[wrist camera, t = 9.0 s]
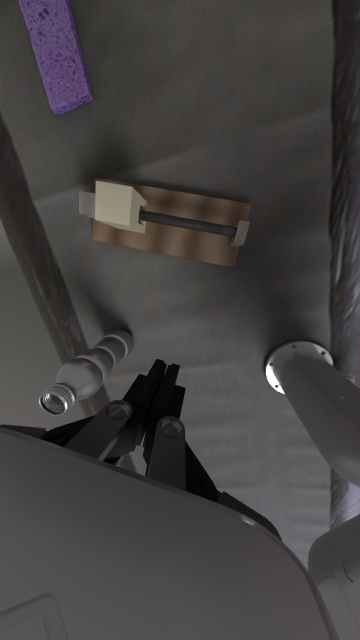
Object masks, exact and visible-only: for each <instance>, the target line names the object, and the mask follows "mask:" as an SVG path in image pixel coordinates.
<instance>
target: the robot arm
mask: <svg viewBox="0 0 360 640" xmlns="http://www.w3.org/2000/svg"><path fill="white" fill-rule="evenodd" d="M292 345H293V346H292ZM166 365H167V364H165V363H164V361H163V360H159V359H156V361H155V363H154V364H153V366H152V368H151V369H150V371H149V373H148V375H147V376H145V375H142V374H139V375H138V377H137V378H136V380H135V381H134V383H133V384H132V386H131V387H130V389H129V390H128V392H127V393H126V395H125V396H124V398H123V399H122V400H114V401H111V402H109V403H108V404H107V405H105V406H104V407H103V408H102V409H101V410H100V411H99V412H98V413H97V414H96V415H95V416H91V417H88V418H85V419H82V420H79V421H75V422H72V423H69V424H66V425H63V426H60V427H57V428H54V429H52V430H50V431H46V429H45V428H37V427H26V426H15V425H0V640H360V514H359V515H358V516H356V517H354V518H352V519H350V520H348V521H346V522H344V523H342V524H340V525H339V526H337V527H335V528H333V529H331V530H330V531H328V532H326V533H325V534H323V535H322V536H320V537H319V538H317V539H316V540H315V542H314V543H313V544H312V546H311V548H310V551H309V555H308V570H307V569H306V568H305V566H304V565H303V564H302V562H301V561H300V560H299V559H298V557H297V556H296V555H295V554H294V553H293V552H292V551H291V550H290V549H289V548H288V547H287V546H286V545H285V544H284V543H283V542H282V539H281V537H280V535H279V532H278V531H277V529H276V528H275V526H274V525H273V524H272V523H271V522H270V521H269V520H268V519H267V518H265V517H264V516H262V515H261V514H259V513H258V512H256V511H254V510H253V509H251V508H250V507H248V506H247V505H245V504H243V503H242V502H240V501H239V500H237V499H236V498H234V497H233V496H231V495H229V494H228V493H226V492H225V491H223V493H221V492H220V491H218V490H217V489H216V487H215V485H214V483H213V481H212V480H211V478H210V477H209V475H208V474H207V472H206V471H205V469H204V468H203V466H202V465H201V463H200V462H199V460H198V459H197V457H196V456H195V454H194V453H193V451H192V450H191V448H190V447H189V445H188V444H187V442H186V441H185V427H184V425H183V423H182V422H181V421H180V420H179V418H180V414H181V409H182V404H183V399H184V394H185V389H186V388H184V387H181V386H178V385H175V383H176V379H177V375H178V372H179V368H180V365H176V364H172V365H169V366H168V368H167V370H166ZM165 370H166V373H165ZM164 374H165V375H164ZM265 375H266V378H267V380H268V382H269V383H270V385H271V386H272V387H273V388H274V389H276V390H277V391H279V392H281V393H283V394H285V395H286V397H287V398H288V400H289V402H290V403H291V405H292V407H293V408H294V410H295V412H296V413H297V415H298V417H299V418H300V420H301V422H302V423H303V425H304V427H305V428H306V430H307V432H308V433H309V435H310V436H311V438H312V440H313V441H314V443H315V445H316V446H317V448H318V450H319V451H320V453H321V455H322V456H323V458H324V459H325V461H326V462H327V463H328V464H329V465H330V467H331V468H332V469H334V470H335V471H336V472H337V473H338V474H339V475H340V476H342V477H343V478H345V479H346V480H348V481H349V482H351V483H352V484H354V485H356V486H358V487H360V388H359V387H358V386H356V385H355V384H354V383H353V382H352V381H353V380H352V378H351V377H350V376H346V375H343V374H342V373H340V372H339V371H338V370H337V369H335V368H334V367H333V360H332V358H331V356H330V354H329V353H328V351H326V350H325V349H324V348H323V347H321V346H320V345H318V344H316V343H314V342H310V341H305V340H297V341H291V342H287V343H285V344H283V345H281V346H279V347H278V348H276V349H275V350H274V351H273V352H272V353H271V354H270V355H269V357H268V358H267V361H266V363H265ZM145 432H146V433H145ZM144 434H145V438H144V442H143V447H144V452H143V457H144V459H145V461H146V464H147V467H146V472H145V476H143V475H140V474H137V473H134V472H132V471H129V470H126V469H123V468H120V467H118V466H119V465H120V463H121V461H122V460H123V457H124V454H127V453H129V452H131V451H134V450H135V447H136V445H138V446H140V444H141V442H142V439H143V437H144ZM308 571H309V572H308Z"/></svg>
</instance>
